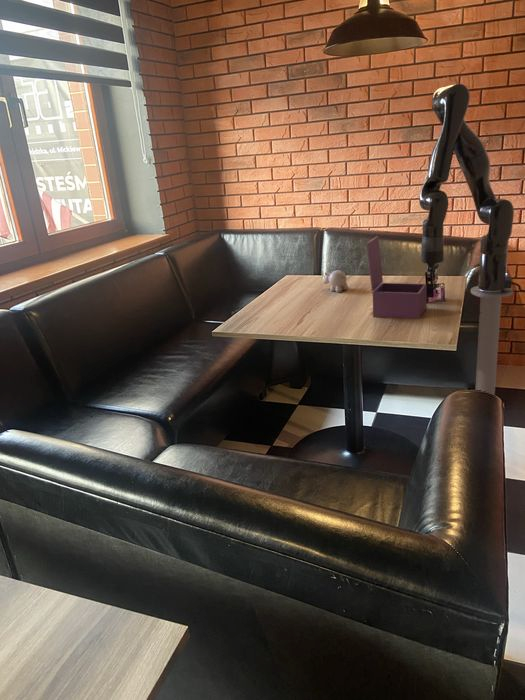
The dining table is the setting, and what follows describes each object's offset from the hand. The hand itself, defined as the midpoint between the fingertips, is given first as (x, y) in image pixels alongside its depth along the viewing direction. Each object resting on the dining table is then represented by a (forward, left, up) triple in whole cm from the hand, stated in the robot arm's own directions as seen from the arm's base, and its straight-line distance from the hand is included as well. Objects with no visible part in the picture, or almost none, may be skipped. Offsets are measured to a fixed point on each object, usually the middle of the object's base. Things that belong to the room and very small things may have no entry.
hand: (431, 295), depth 195 cm
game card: (0, 0, -2) cm, 3 cm away
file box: (+8, +15, -2) cm, 17 cm away
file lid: (+16, +15, +15) cm, 27 cm away
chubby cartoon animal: (+41, -11, -2) cm, 42 cm away
